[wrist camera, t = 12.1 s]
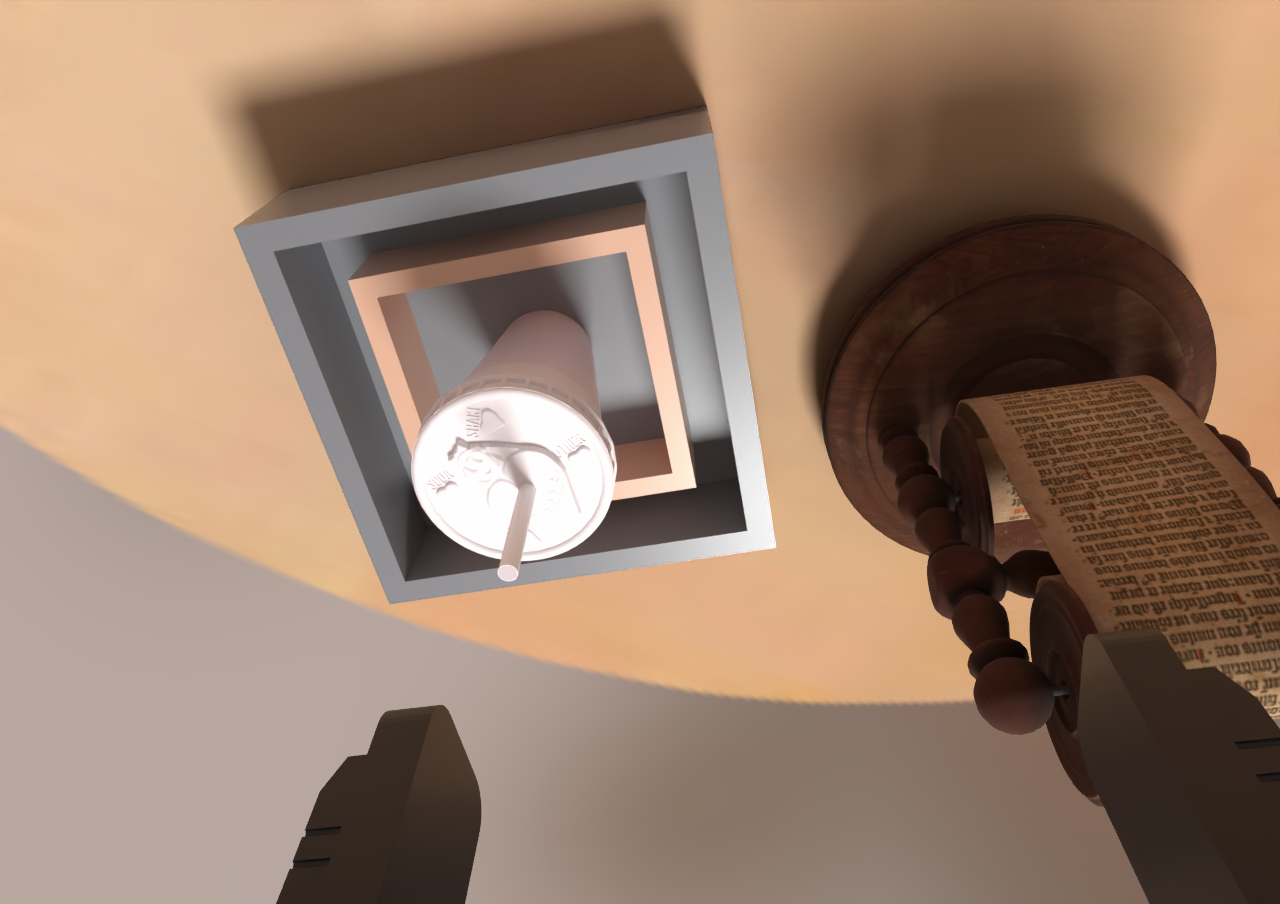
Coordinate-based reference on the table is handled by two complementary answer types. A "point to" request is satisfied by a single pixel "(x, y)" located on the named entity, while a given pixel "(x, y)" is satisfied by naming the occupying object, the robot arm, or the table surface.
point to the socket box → (492, 300)
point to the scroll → (1057, 462)
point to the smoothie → (520, 447)
